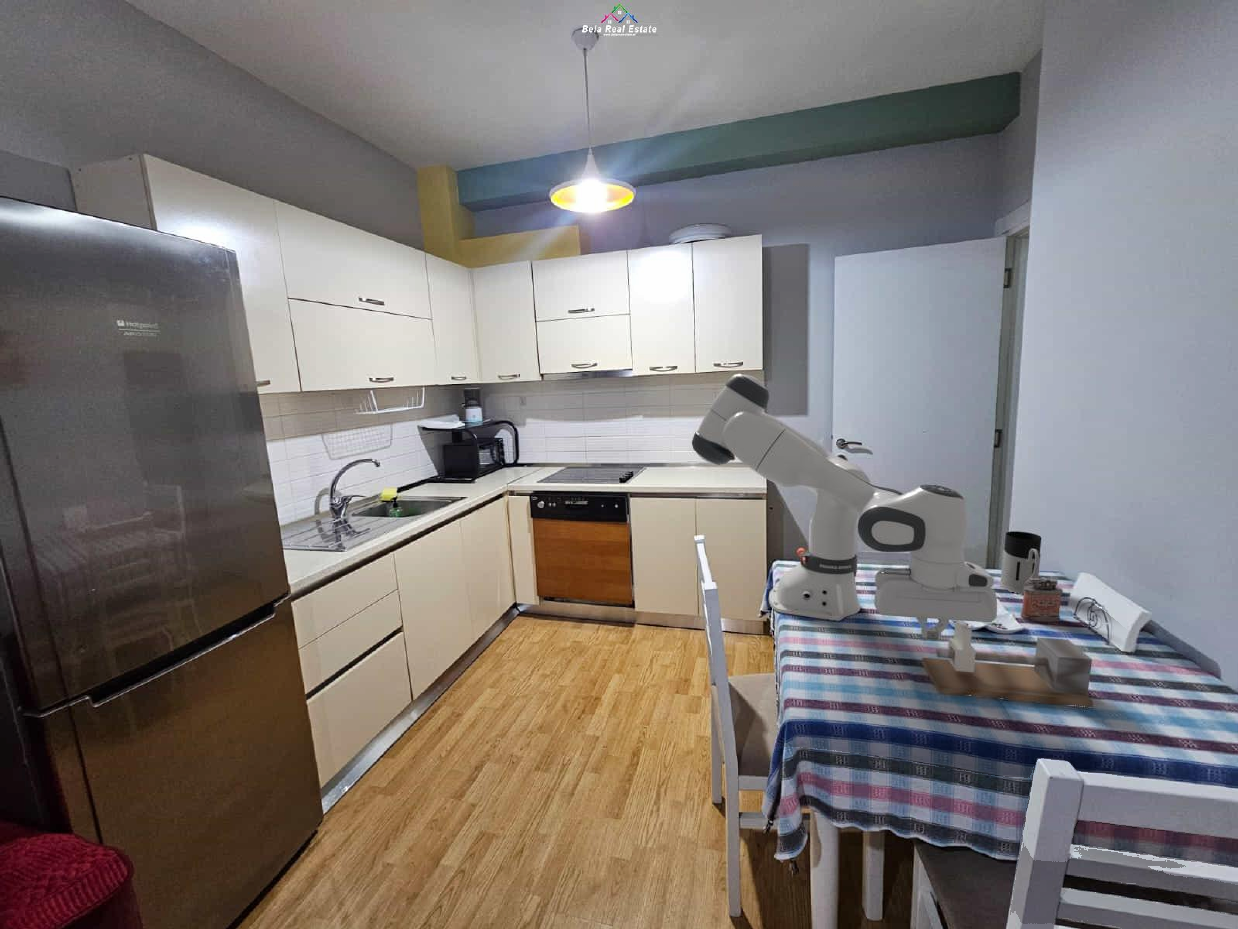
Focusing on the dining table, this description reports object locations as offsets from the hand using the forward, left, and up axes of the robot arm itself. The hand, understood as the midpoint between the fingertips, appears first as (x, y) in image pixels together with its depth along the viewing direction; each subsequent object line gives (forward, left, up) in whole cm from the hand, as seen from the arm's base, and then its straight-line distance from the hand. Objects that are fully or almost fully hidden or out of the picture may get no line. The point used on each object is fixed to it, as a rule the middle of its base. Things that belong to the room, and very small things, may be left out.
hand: (930, 637), depth 99 cm
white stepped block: (+5, 0, -5) cm, 8 cm away
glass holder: (+36, +46, -9) cm, 59 cm away
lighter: (+33, +31, -9) cm, 46 cm away
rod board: (+12, 0, -9) cm, 15 cm away
